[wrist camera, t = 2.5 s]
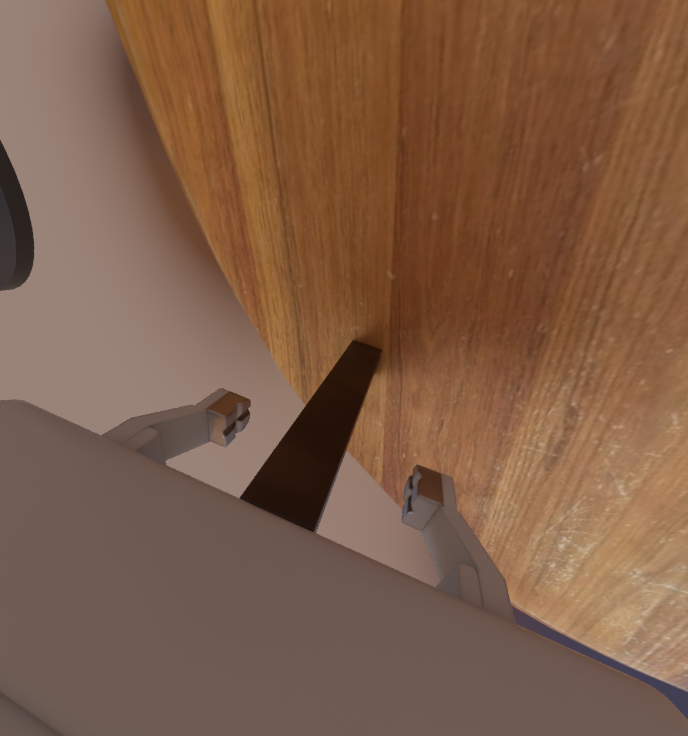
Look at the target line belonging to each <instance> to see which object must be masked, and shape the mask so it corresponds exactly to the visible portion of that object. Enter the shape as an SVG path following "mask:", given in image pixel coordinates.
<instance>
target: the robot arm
mask: <svg viewBox="0 0 688 736" xmlns="http://www.w3.org/2000/svg"><path fill="white" fill-rule="evenodd" d="M250 405H251V402H250V400H249V399H247V398H245V397H243V396H240V395H238V394H235V393H233V392H230V391H228V390H225V389H223V388H221V389H218V390H217V391H215V392H214V393H212V394H211V395H209V396H208V397H206V398H205V399H204V400H202V401H201V402H199V403H198V404H196V405H195V406H194V405H188V406H183V407H179V408H174V409H169V410H165V411H160V412H156V413H151V414H146V415H142V416H138V417H133V418H130V419H129V420H127V421H125V422H123V423H122V424H120V425H118V426H116V427H115V428H113V429H111V430H110V431H108V432H106V433H104V434H103V435H99V434H97V433H94V432H92V431H90V430H88V429H86V428H83V427H81V426H79V425H77V424H75V423H72V422H70V421H68V420H66V419H63V418H61V417H59V416H57V415H55V414H53V413H50V412H48V411H46V410H44V409H42V408H39V407H38V406H35V405H33V404H31V403H29V402H26V401H22V400H2V401H0V736H688V720H687V719H686V718H685V717H684V716H683V715H682V713H681V712H679V710H678V709H677V708H676V707H675V706H674V705H673V704H672V703H671V702H670V700H669V699H668V698H666V697H665V696H664V695H663V694H662V693H660V692H659V691H657V690H656V689H655V688H653V687H652V686H649V685H648V684H646V683H644V682H642V681H640V680H638V679H636V678H633V677H631V676H629V675H627V674H624V673H622V672H620V671H618V670H616V669H613V668H611V667H609V666H607V665H605V664H603V663H600V662H598V661H596V660H593V659H592V658H589V657H587V656H585V655H583V654H580V653H578V652H576V651H574V650H572V649H569V648H567V647H565V646H563V645H561V644H558V643H556V642H554V641H552V640H549V639H547V638H545V637H543V636H541V635H539V634H536V633H534V632H532V631H530V630H528V629H525V628H523V627H521V626H518V625H517V624H516V623H515V620H514V615H513V611H512V606H511V602H510V598H509V594H508V590H507V586H506V581H505V579H504V577H503V576H502V574H501V573H500V571H499V570H498V568H497V567H496V566H495V564H494V563H493V561H492V560H491V558H490V557H489V555H488V554H487V552H486V551H485V549H484V548H483V546H482V545H481V543H480V542H479V540H478V539H477V537H476V536H475V534H474V533H473V531H472V530H471V528H470V527H469V525H468V524H467V522H466V521H465V519H464V518H463V516H462V515H461V514H460V513H458V512H457V504H456V497H455V489H454V481H453V478H452V477H450V476H447V475H445V474H442V473H439V472H437V471H434V470H431V469H429V468H426V467H423V466H421V465H418V464H417V465H416V466H415V467H414V469H413V475H412V476H409V478H408V480H407V483H406V486H405V490H404V500H405V504H404V506H403V510H402V523H405V524H407V525H409V526H411V527H413V528H415V529H418V530H420V531H422V532H421V533H422V535H423V538H424V540H425V543H426V545H427V548H428V550H429V552H430V555H431V557H432V560H433V562H434V565H435V567H436V570H437V572H438V575H439V577H440V579H441V582H440V583H439V584H438V585H437V586H436V587H433V586H431V585H428V584H426V583H424V582H422V581H420V580H418V579H415V578H413V577H411V576H409V575H407V574H404V573H402V572H400V571H398V570H395V569H393V568H391V567H389V566H387V565H385V564H382V563H380V562H378V561H376V560H374V559H371V558H369V557H367V556H365V555H363V554H360V553H358V552H356V551H354V550H352V549H349V548H347V547H345V546H343V545H341V544H338V543H336V542H334V541H332V540H330V539H327V538H325V537H323V536H320V535H319V534H316V533H314V532H312V531H310V530H308V529H305V528H303V527H301V526H299V525H297V524H294V523H292V522H290V521H288V520H286V519H283V518H281V517H279V516H277V515H275V514H272V513H270V512H268V511H266V510H264V509H261V508H259V507H257V506H255V505H253V504H250V503H248V502H246V501H244V500H242V499H239V498H237V497H235V496H233V495H231V494H228V493H226V492H224V491H222V490H219V489H217V488H215V487H213V486H211V485H209V484H206V483H204V482H202V481H200V480H198V479H195V478H193V477H191V476H189V475H187V474H184V473H182V472H180V471H178V470H176V469H173V468H171V467H169V466H167V465H166V462H165V460H168V459H170V458H173V457H175V456H177V455H180V454H182V453H184V452H187V451H189V450H191V449H194V448H196V447H198V446H201V445H203V444H206V443H208V442H209V441H211V442H213V443H216V444H219V445H221V446H224V447H226V446H228V444H229V443H230V442H231V441H232V440H233V439H234V438H235V434H236V433H238V432H241V431H242V430H243V429H244V428H245V427H246V425H247V424H248V422H249V419H250V412H249V410H248V408H249V407H250Z"/></svg>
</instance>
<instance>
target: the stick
mask: <svg viewBox="0 0 688 736" xmlns="http://www.w3.org/2000/svg"><path fill="white" fill-rule="evenodd" d="M381 352H382V350H381V349H378V348H375V347H372V346H369V345H365V344H362V343H359V342H356V341H352V342H351V344H350V345H349V346H348V348H347V349H346V351H345V352H344V353H343V355H342V356H341V358H340V359H339V360H338V362H337V363H336V364H335V366H334V367H333V369H332V370H331V371H330V373H329V374H328V376H327V377H326V378H325V380H324V381H323V383H322V384H321V385H320V387H319V388H318V390H317V391H316V392H315V394H314V395H313V397H312V398H311V399H310V401H309V402H308V403H307V405H306V406H305V408H304V409H303V410H302V412H301V413H300V415H299V416H298V418H297V419H296V420H295V422H294V423H293V424H292V426H291V427H290V429H289V430H288V431H287V433H286V434H285V435H284V437H283V438H282V440H281V441H280V442H279V444H278V445H277V447H276V448H275V449H274V451H273V452H272V454H271V455H270V457H269V458H268V459H267V461H266V462H265V463H264V465H263V466H262V467H261V469H260V470H259V472H258V473H257V475H256V476H255V477H254V479H253V480H252V481H251V483H250V484H249V486H248V487H247V488H246V490H245V491H244V493H243V494H242V495H241V497H240V499H242V500H244V501H246V502H248V503H250V504H253V505H255V506H257V507H259V508H261V509H264V510H266V511H268V512H270V513H272V514H275V515H277V516H279V517H281V518H283V519H286V520H288V521H290V522H292V523H294V524H297V525H299V526H301V527H303V528H305V529H308V530H310V531H312V532H314V533H316V532H317V529H318V526H319V523H320V521H321V518H322V515H323V512H324V510H325V507H326V504H327V501H328V499H329V496H330V493H331V491H332V488H333V485H334V482H335V480H336V477H337V474H338V471H339V469H340V466H341V463H342V461H343V458H344V455H345V452H346V450H347V447H348V444H349V442H350V439H351V436H352V433H353V431H354V428H355V425H356V422H357V420H358V417H359V414H360V412H361V409H362V406H363V403H364V401H365V398H366V395H367V392H368V390H369V387H370V384H371V381H372V379H373V376H374V373H375V370H376V367H377V364H378V361H379V358H380V355H381Z"/></svg>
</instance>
